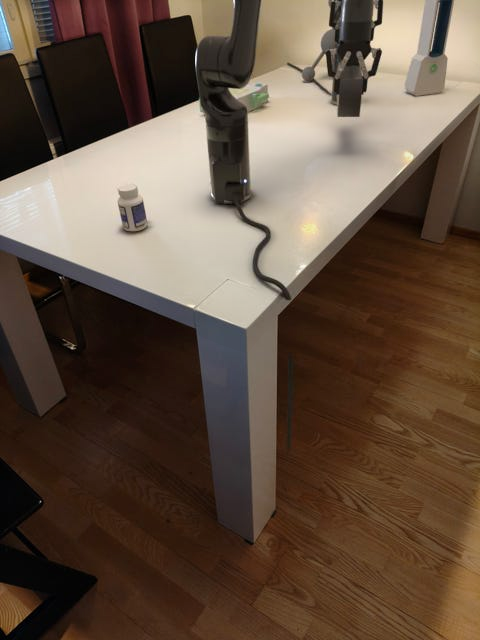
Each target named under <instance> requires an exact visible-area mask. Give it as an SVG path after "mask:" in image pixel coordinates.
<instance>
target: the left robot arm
mask: <svg viewBox="0 0 480 640" xmlns="http://www.w3.org/2000/svg"><path fill="white" fill-rule="evenodd" d="M232 3H233V5H232V6H233V16H232V26H231V33H230V35H218V34H217V35H216V34H214V35H213V34H212V35H211V34H209V35H205V36H204V37H202V38H201V39H200V41H199V42H198V45H197V47H196V51H195V61H194V62H195V75H196V81H197V89H198V96H199V98H200V104H201V108H202V111H203V114H204V122H205V132H206V144H207V155H208V166H209V167H208V168H209V179H210V189H211V193H210V195H211V200H212V201H214V203H215V204H216V205H235V207H236V210H237V212H238V214H239V216H240V217H241V219H242V220H243V221H244V222H245V223H247V224H248V225H251V226H253V227H255V228H258V229H261V230H264V232H265V233H266V235H265V237H264V238H263V239H261V241H260V242H259V244H258V245H257V246H256V248H255V250H254V253H253V258H252V268H253V272H254V274H255V275H256V277H257V278H259V280H262V281H264V282H266V283H269V284H271V285H274V286H276V287H277V288H279V290H281V292H282V293H283V296H284V298H285V300H286V301H291V300H292V296H291V294H290V292H289V290H288V289H287V287H286V286H285V285H284V284H283V283H282V282H281V281H279V280H278V279H275V278H273V277H269V276H267V275H265V274H263V273H262V272H261V270H260V268H259V265H258V263H259V256H260V252H261V250H262V248H263V246H265V245H266V244H267V243H268V242H269V240H270V238H271V236H272V232H271V230H270V228H269V227H268V226H267V225H265V224H262V223H259V222H256V221H254V220H251V219H250V218H249V217H247V216H246V215H245V213H244V210H243V209H242V206H241V205H242V204H243V202H246V201H248V200H250V198H251V196H252V190H251V165H250V162H251V161H250V138H249V135H250V134H249V112H248V110H247V107H246V105H245V104H243V103H242V102H240V101H239V100H237V99H236V98H235V97H234V96H233V95H232V94H231V92H230V91H229V88H233V89H242V88H244V87H245V86H247V84H248V83H250V82H251V79H252V77H253V73H254V69H255V65H256V58H257V47H258V36H259V26H260V17H261V16H260V15H261V8H262V0H232ZM374 8H375V5H374V0H343V1H342V7H341V14H340V18H341V19H340V33H339V44H338V46H337V48H336V49H332V50H330V49H327V50H326V54H325V61H326V69H327V70H326V71H327V76H328V77H329V78H332V79H333V78H334V92H336V95H339V86H340V78H339V77H340V75H341V73H342V71H343V70H344V68H345V65H346V66H351V65H354V66H359V65H360V67H361V71H362V75H363V87H362V96H364V94H365V93H366V92H367V90H368V81H369V79H370V78H371V77H375V76H377V73H378V72H377V71H378V69H379V65H380V61H381V57H382V54H383V50H382V48H381V47H377V48H375V47H372V45H371V43H370V37H371V28H372V20H373V17H374ZM336 53H337V54H338V56H339V58H340V59H341V62H340V64H339V66H338V69H337V71H336V72H335V71H333V70H332V60H331V59H333V58H334V55H335V54H336ZM370 54H371V57H372V59H373V62H372V65H371V69H370V70H367V69H368V68H367V65H366V63H365V60H366V59H367V58H368V56H369V55H370ZM293 369H294V355H293V354H292V355H291V354H287V404H286V405H287V407H286V409H287V410H286V451H288V452H289V451H291V449H292V415H293V414H292V412H293V386H294V385H293V384H294V383H293V382H294V381H293V379H294V370H293Z"/></svg>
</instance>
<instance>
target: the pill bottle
mask: <svg viewBox="0 0 480 640" xmlns="http://www.w3.org/2000/svg"><path fill="white" fill-rule="evenodd" d="M117 193H118V196H119V197H118V199H117V206H118V210H119V211H118V212H119V215H120V219H121V224H122V227H123V229H124V230H125V231H128V232H138V231H141V230H144V229H146V227H147V226H148V217H147V214H146V208H145V203H144V198H143V196H142V195H141V194H139V188H138V185H137V184H135V183H132V182H131V183H123V184H121V185H119V186H118V187H117Z"/></svg>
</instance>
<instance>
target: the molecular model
mask: <svg viewBox="0 0 480 640" xmlns="http://www.w3.org/2000/svg"><path fill="white" fill-rule="evenodd" d="M331 1H332V0H328V7H329V9H330V8H331ZM320 48H321V52H320V54H318V56H317V58H316V59H315V61H314V62H313V64H312V65H311V66H306V67H304V68H303V69H302V70H303V71H302V72H301V78H302V80H304V81H305V82H311V81H313V79H315V76H316V71H315V69H316V67H317V66H318V64H320V62H321V60H322V58H323V57H324V56H325V55H326V50H327V49H330V50H332V49H335V28H333V27H331V29H329V30H326V31H325V33H323V35H322V37H321V40H320ZM331 60H332V70H333V68H334V58H333V59H331Z"/></svg>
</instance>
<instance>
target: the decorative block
mask: <svg viewBox="0 0 480 640" xmlns="http://www.w3.org/2000/svg"><path fill="white" fill-rule="evenodd" d="M268 86H269V85H268V84H266V83H265V84H264V83H259V82H258V83H255V82H249V83H248V84H247V86H245V87H244V88H242V89H233V88H229V91H230V92H231V94H232V95H233V96H234V97H235V98H236V99H237V100H239V101H240V102H242V103H243V104H245V105H246V107H247V110H248V113H249V112H251V111H254V110H256V109H259V108H261V107H263V104H265V103H267V102H269V99H270V93H269V89H268V88H269V87H268ZM198 103H199V113H203V111H202V108H201V104H200V97H198ZM203 114H204V113H203Z"/></svg>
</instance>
